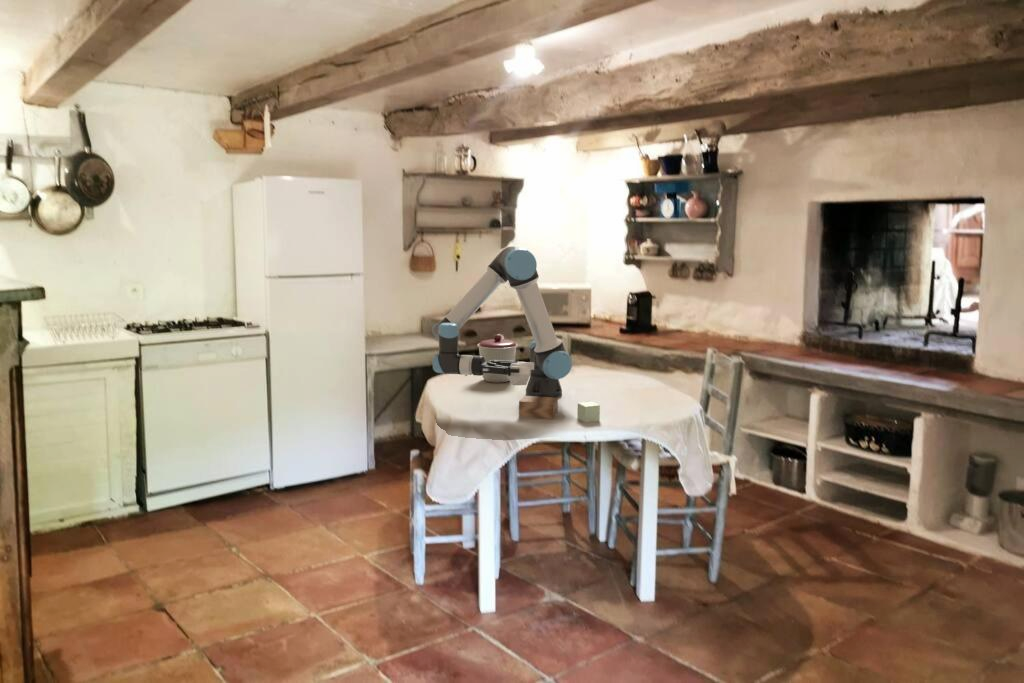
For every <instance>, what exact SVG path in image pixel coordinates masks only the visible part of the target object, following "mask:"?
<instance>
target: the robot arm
mask: <svg viewBox="0 0 1024 683" xmlns="http://www.w3.org/2000/svg"><path fill="white" fill-rule="evenodd" d="M537 266H538V265H537V259H536V257H535V255H534V254H533V253H532V252H531V251H529V249H527V248H523V247H517V246H509V247H506V248H503V249H502V250H501V251H500V252H499V253H498V254H497V255H496V256H495V257H494V259H493V260H492V261H491V263H489V265H488V266H487V268H486V272H484V274H483V275H482V276H481V277H480V278H479V280H477V281H476V283H475V284H474V285H473V286H472V287H471V288H470V289H469V290H468V291H467V292H466V293H465V295H463V297H462V298H461V299H460V300H459V301H458V302H457V303H456V304H455V306H453V308H452V309H451V310H450V311H449V312H448V313H447V314H446V315H445V317H444V318H443V319H441V321H440V322H437V323H435V324H434V325H433V327H432V336H433V338H434V339H435V341H437V342H438V353H435V354H434V356H433V358H432V370H433V371H434V372H435V373H436V374H444V375H464V377H467V376H472V375H473V376H479V377H480V376H482V375H483V374H484V373H493V374H503V375H508V376H511V374H525V375H529V370H530V372H531V374H530V377H529V379H528V382H527V384H526V388H525V396H537V397H553V398H558V399H559V398H560V397H562V396H563V389H562V386H561V383H560V380H561V379H564V378H565V377H566V376H567V375H568V374H570V372H571V371H572V367H573V360H572V357H571V356H570V354H569V353H568V352H567V351H566V348H565V345H564V342H563V340H562V339H561V338H559V337H557V335H556V333H555V332H556V331H555V330H554V326H553V323H552V321H551V318H550V315H549V313H548V310H547V306H546V304H545V301H544V298H543V296H542V293H541V291H540V287H539V285H538V280H539V274H538V271H537V270H538V269H537ZM507 282H508V284H509V286H510V288H512V289H514V290H515V291H516V294H517V297H518V300H519V301H520V304H521V307H522V310H523V313H524V315H525V318H526V321H527V323H528V327H529V329H530V332H531V335H532V337H533V339H534V340H533V341H531V342H530V344H529V345H530V346H529V347H530V348H529V355H530V356H529V361H519V360H518V359H516V358H515V360H489V362H486V361H485V358H484V357H483V356H480V355H472V354H471V355H470V354H459V334H460V331H459V330H460V329H461V328H462V327H463V326H464V325H465V324H466V323H467V322H468V320H469V319H470V318H471V317H472V316H473V315H474V314H475V313H476V312H477V310H479V309H480V308H481V307H482V306H483V304H484V303H485V302H486V301H487V300H488V299H489V298H490V296H492V294H493V293H494V292H495V291H496V290H497V289H498V288H499V287H500V286H501V284H507ZM511 363H526V365H527V367H517V366H511V367H510V365H511ZM482 377H483V376H482Z"/></svg>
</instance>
